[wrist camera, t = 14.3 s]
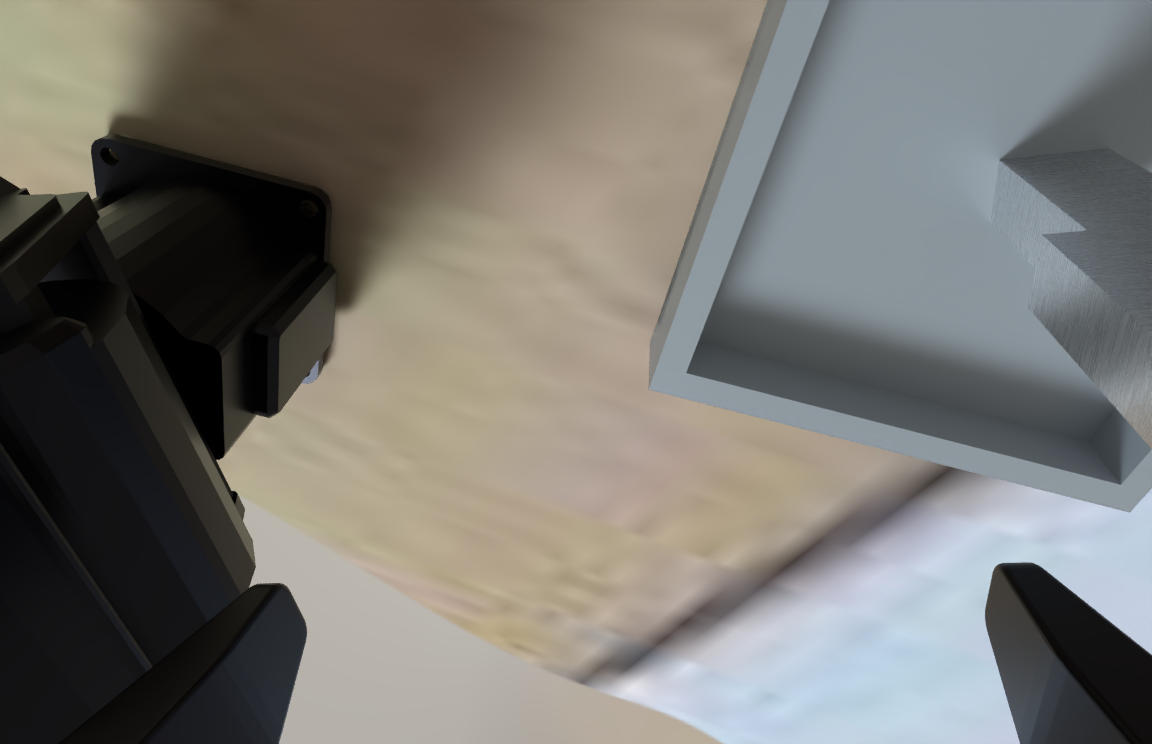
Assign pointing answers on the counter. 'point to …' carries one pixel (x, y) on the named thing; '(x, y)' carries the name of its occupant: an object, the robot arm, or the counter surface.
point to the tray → (907, 234)
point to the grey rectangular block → (1088, 264)
